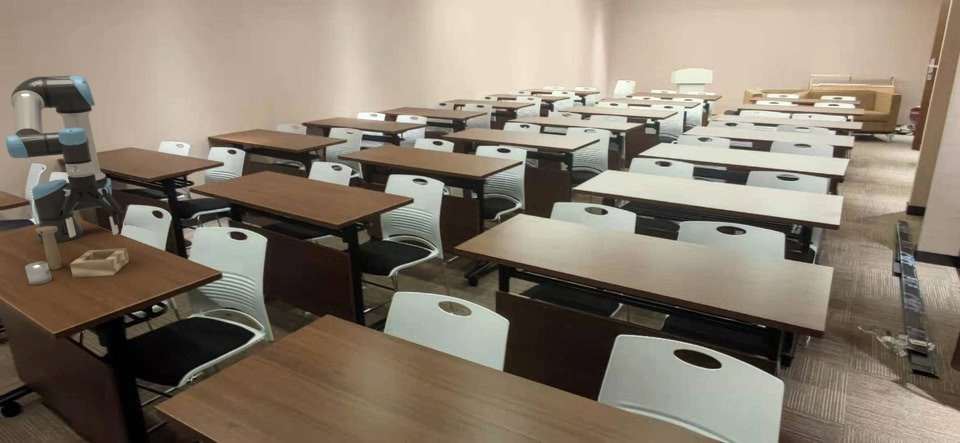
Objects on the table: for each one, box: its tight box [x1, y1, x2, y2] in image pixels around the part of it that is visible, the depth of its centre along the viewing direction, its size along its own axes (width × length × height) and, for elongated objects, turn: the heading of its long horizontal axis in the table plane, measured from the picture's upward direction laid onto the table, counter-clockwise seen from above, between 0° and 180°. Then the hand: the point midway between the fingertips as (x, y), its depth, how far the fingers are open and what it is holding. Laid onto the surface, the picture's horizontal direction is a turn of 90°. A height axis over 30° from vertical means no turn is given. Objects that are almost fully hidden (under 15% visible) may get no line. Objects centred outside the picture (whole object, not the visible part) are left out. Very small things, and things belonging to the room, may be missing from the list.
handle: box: [35, 226, 63, 271], centre depth 199 cm, size 5×6×15 cm
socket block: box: [69, 247, 130, 279], centre depth 199 cm, size 14×12×5 cm
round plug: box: [24, 260, 52, 286], centre depth 189 cm, size 6×6×6 cm
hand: (94, 235), depth 196 cm, fingers open, 13 cm apart
